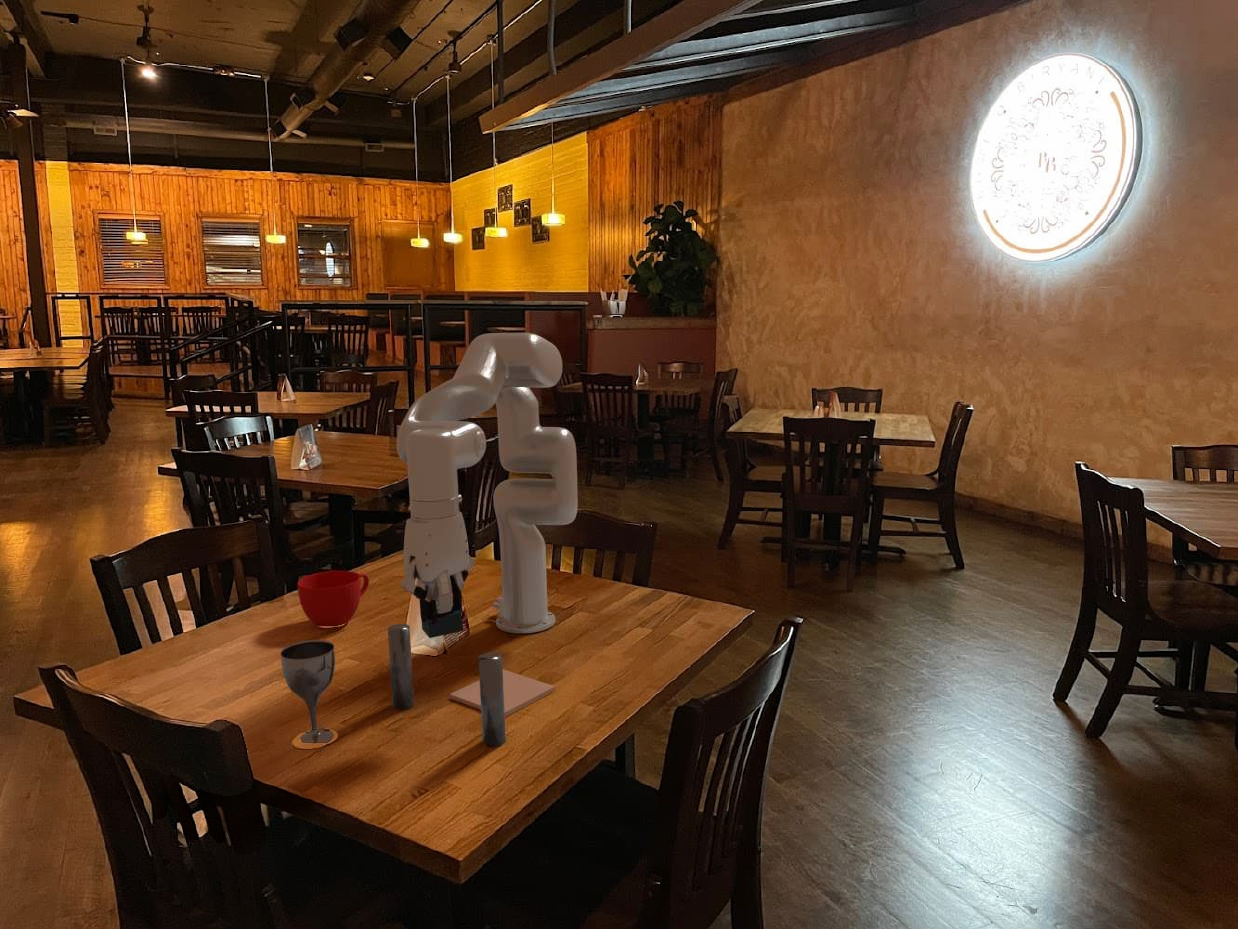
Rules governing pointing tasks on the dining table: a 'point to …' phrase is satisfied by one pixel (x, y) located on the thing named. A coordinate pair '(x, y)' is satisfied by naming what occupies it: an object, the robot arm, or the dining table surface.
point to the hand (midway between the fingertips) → (441, 616)
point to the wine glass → (310, 679)
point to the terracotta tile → (507, 692)
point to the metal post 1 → (401, 666)
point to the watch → (443, 610)
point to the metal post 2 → (492, 699)
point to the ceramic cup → (331, 596)
